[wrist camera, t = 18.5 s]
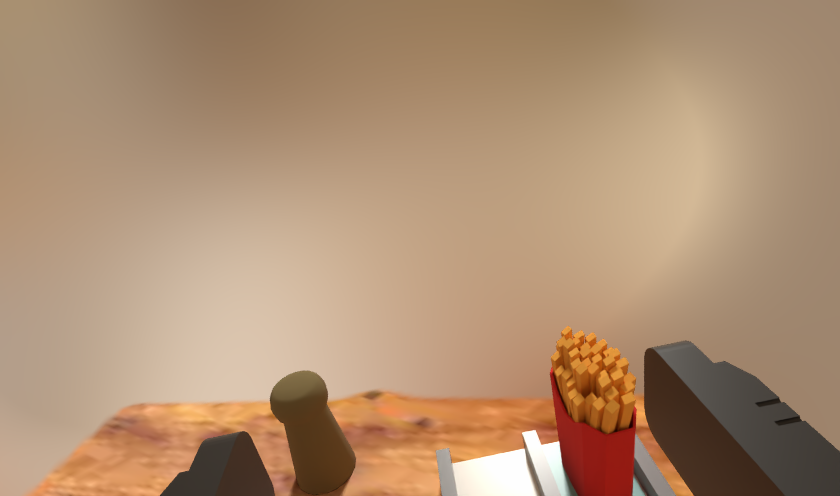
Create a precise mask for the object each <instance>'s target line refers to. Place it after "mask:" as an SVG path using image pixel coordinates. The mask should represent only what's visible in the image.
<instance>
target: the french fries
mask: <svg viewBox="0 0 840 496" xmlns="http://www.w3.org/2000/svg"><path fill="white" fill-rule="evenodd" d="M561 335H562V338H561V339H560V340H558V341H557V346H556V348H557V352H556V353H555V354H554V355H553V356H552V357H551V361H552V368H551V372H550V377H551V385H552V392H553V400H554V407H555V415H556V422H557V430H558V437H559V445H560V452H561V459H562V465H563V467H564V469H565V471H566V473H567V476H568V478H569V480H570V482H571V484H572V486H573V487H574V489H575V491H576V493H577V495H578V496H632V495H633V475H634V453H635V431H636V410H637V409H636V408H635V406H634V405H635V401H636V400H635V397H634V390H635V383H636V378H635V377H634V376H633V375H632V374H631V372H630V373H628V374H627V371H628V365H629V363H628V361H627V359H626V358H623V359H620V352H619V351H618V349H617V348H616V349H613V348H612V347H610V348H609V349H607V343H606V341H605V340H604V339H603V340H601V341H599V342H598V343H596V336H595V334H594V333H591V334H590V335H588V336H587V337H585V344H584V336H585V334H584V333H583V331H582V330H581V331H580V332H578V333H576V334H575V335H573V339H572V329H571V328H570V327H569V326H567V327H566V328H565V329H564V330H563V331H562V332H561Z"/></svg>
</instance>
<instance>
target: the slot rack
mask: <svg viewBox="0 0 840 496" xmlns="http://www.w3.org/2000/svg"><path fill="white" fill-rule="evenodd" d="M522 435H523V442H524V449H521V450H516V451H511V452H506V453H502V454H497V455H492V456H487V457H482V458H477V459H472V460H468V461H463V462H458V463H453V464H452V460H451V455H450V451H449V448H446V449H442V450H437V451H436V455H437V463H438V470H439V478H440V485H441V493H442V496H578V495H577V493H576V491H575V489H574V487H573V486H572V484H571V482H570V480H569V478H568V476H567V473H566V471H565V469H564V467H563V465H562V459H561V452H560V445H559V442H555V443H550V444H545V445H541V444H540V441H539V439H538V436H537V433H536V431H535V430H533V431H529V432H524V433H522ZM632 496H676V495H675V493H674V492H673V490H672V488H671V487H670V485H669V484H668V482H667V481H666V479H665V478H664V476H663V475H662V473H661V472H660V470H659V469H658V467H657V465H656V464H655V462H654V461H653V459H652V458H651V456H650V455H649V453H648V452H647V450H646V449H645V447H644V445H643V444H642V442H641V441H640V439H639V438H638V436H637V435H636V433H635V453H634V475H633V495H632Z"/></svg>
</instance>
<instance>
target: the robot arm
mask: <svg viewBox="0 0 840 496" xmlns="http://www.w3.org/2000/svg"><path fill="white" fill-rule="evenodd" d="M644 408H645V415H646V419H647V422H648V425H649V427H650V430H651V432H652V434H653V436H654V438H655V440H656V441H657V443H658V444H659V446H660V447H661V448H662V450H663V451H664V453H665V454H666V456H667V457H668V459H669V460H670V461H671V463H672V464H673V466H674V467H675V469H676V470H677V472H678V473H679V474H680V476H681V477H682V479H683V480H684V482H685V483H686V485H687V486H688V487H689V489H690V490H691V492H692V493H693V495H694V496H840V451H838V450H837V449H836V448H835V447H834V446H833V445H832V444H831V443H829V442H828V441H827V440H826V439H825V438H824V437H823V436H822V435H820V434H819V433H818V432H817V431H816V430H815V429H814V428H812V427H811V426H810V425H809V424H808V423H807V422H806V421H802V420H801V419H800V416H799V415H798V414H797V413H796V412H795V411H793V410H792V409H791V408H790V407H789V406H788V405H787V404H786V403H784V402H783V403H782V402H781V401H780V399H779V397H778V396H777V395H776V394H774V393H773V392H772V391H771V390H770V389H769V388H768V387H767V386H765V385H764V384H763V383H762V382H761V381H760V380H759V379H757V377H755V376H753V375H751V374H749V373H747V372H745V371H743V370H741V369H739V368H737V367H735V366H733V365H731V364H730V363H728V362H725V361H723V362H718V363H713V362H712V361H711V360H709V358H708V357H707V356H706V355H704V354H703V353H702V352H701V351H700V350H699V349H698V348H697V347H696V346H695V345H694V344H693V343H691V342H689V341H681V342H677V343H671V344H667V345H662V346H657V347H652V348H648V349H647V350H646V352H645V356H644ZM160 496H275V494H274V488H273V485H272V482H271V480H270V478H269V475H268V473H267V471H266V469H265V467H264V465H263V462H262V460H261V458H260V456H259V454H258V451H257V449H256V447H255V445H254V443H253V441H252V439H251V437H250V435H249V434H248V433H247V432H245V431H242V432H237V433H232V434H227V435H222V436H218V437H213V438H208V439H206V440H204V441H203V442H202V444H201V445H200V447H199V449H198V452H197V454H196V456H195V458H194V461H193V463H192V465H191V467H190V469H189V471H185V472H181V473H179V474H178V475H177V476H176V477H175V478H174V480H173V481H172V482H171V483H170V484H169V485H168V487H167V488H166V489H165V490H164V491H163V493H162V494H161V495H160Z"/></svg>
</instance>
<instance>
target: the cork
mask: <svg viewBox="0 0 840 496" xmlns="http://www.w3.org/2000/svg"><path fill="white" fill-rule="evenodd" d="M327 399H328V391H327V388H326V385H325V382H324V380H323V379H322V378H321V377H320V376H319V375H318V374H316V373H314V372H311V371H299V372H295V373H292V374H289V375H288V376H286V377H284V378H282V379H281V380H280V381H279V382H278V383H277V384H276V385H275V386H274V388H273V390H272V393H271V396H270V404H271V410H272V412H273V414H274V415H275V417H276V418H277V419H278V420H279V421H280V422H282V423H284V426H285V430H286V435H287V439H288V443H289V448H290V452H291V456H292V461H293V465H294V469H295V474H296V478H297V482H298V485H299V487H300V488H301V489H302V490H303V491H305V492H306V493H308V494H315V495H319V494H325V493H328V492H330V491H333V490H335V489H337V488H338V487H340V486H341V485H342V484H344V483H345V482H346V481H347V479H348V478H349V477H350V476H351V474H352V472H353V470H354V468H355V463H356V458H355V454H354V452H353V450H352V448H351V446H350V444H349V443H348V441H347V439H346V437H345V436H344V434H343V432H342V430H341V428H340V427H339V425H338V423H337V421H336V420H335V418H334V416H333V414H332V412H331V411H330V409H329V407H328V405H327Z"/></svg>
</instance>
